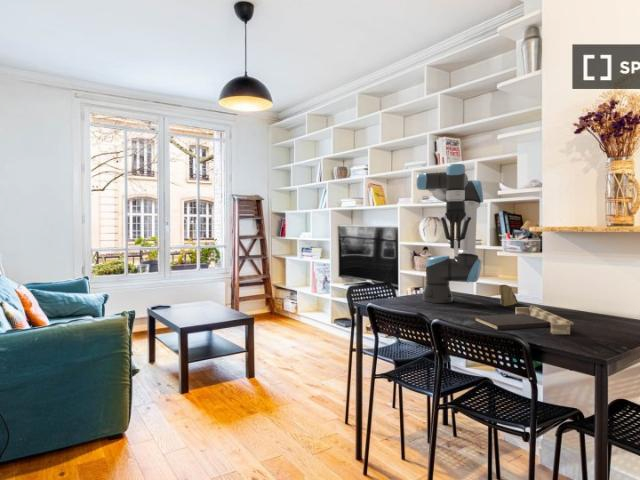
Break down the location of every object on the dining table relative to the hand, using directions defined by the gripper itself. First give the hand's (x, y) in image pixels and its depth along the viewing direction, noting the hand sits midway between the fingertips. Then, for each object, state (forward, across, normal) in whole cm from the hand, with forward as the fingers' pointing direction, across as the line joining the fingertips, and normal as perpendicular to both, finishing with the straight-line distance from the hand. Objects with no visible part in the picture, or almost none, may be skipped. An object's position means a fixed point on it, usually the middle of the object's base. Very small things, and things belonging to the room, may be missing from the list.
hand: (455, 256), depth 182 cm
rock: (+27, +35, +28) cm, 52 cm away
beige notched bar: (+26, +30, -12) cm, 42 cm away
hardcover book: (+27, +20, -11) cm, 35 cm away
